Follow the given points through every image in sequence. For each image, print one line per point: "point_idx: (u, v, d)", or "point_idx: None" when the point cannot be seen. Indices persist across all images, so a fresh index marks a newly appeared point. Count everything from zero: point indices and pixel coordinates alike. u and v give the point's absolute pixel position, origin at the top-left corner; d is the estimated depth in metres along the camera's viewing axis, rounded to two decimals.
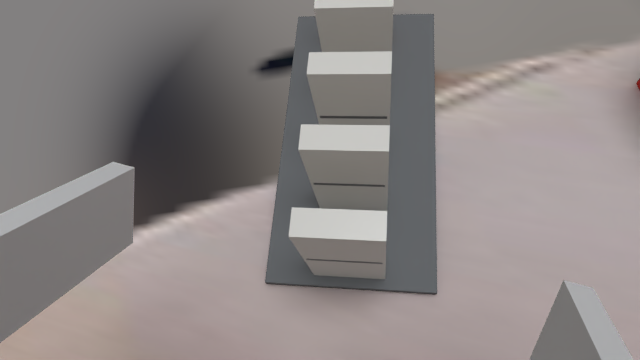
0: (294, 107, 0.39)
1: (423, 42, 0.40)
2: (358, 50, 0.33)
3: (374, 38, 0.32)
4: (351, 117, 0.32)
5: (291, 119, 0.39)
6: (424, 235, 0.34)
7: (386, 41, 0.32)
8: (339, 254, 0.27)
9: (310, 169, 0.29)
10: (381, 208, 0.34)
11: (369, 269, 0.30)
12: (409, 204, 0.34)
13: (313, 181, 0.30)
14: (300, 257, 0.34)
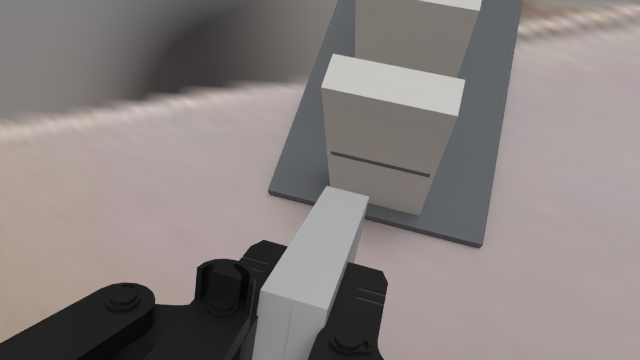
0: (345, 5, 0.32)
1: None
2: None
3: None
4: None
5: (339, 17, 0.32)
6: (478, 174, 0.26)
7: None
8: (378, 145, 0.20)
9: (360, 37, 0.22)
10: None
11: (406, 189, 0.23)
12: (465, 135, 0.27)
13: None
14: (317, 170, 0.27)
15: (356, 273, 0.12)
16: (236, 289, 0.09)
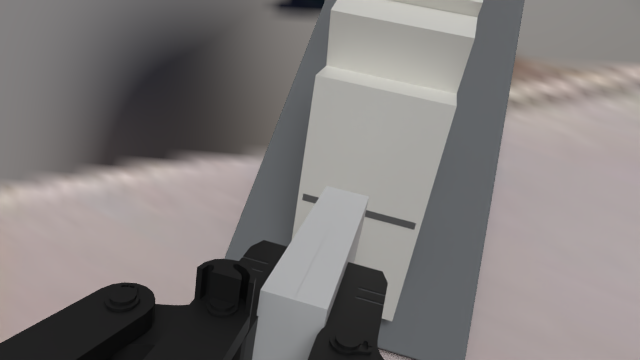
0: (312, 61, 0.28)
1: (507, 15, 0.29)
2: None
3: None
4: None
5: (304, 76, 0.27)
6: (460, 279, 0.22)
7: None
8: (362, 173, 0.18)
9: None
10: None
11: (384, 260, 0.19)
12: (445, 229, 0.23)
13: None
14: None
15: (356, 273, 0.12)
16: (236, 289, 0.09)
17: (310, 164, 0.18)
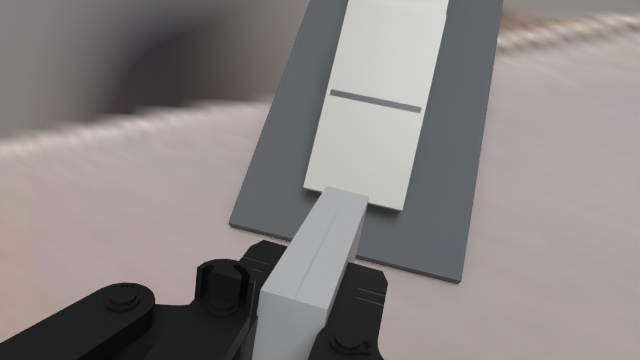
0: (314, 16, 0.30)
1: None
2: None
3: None
4: None
5: (307, 29, 0.29)
6: (456, 202, 0.24)
7: None
8: (379, 68, 0.24)
9: None
10: None
11: (395, 145, 0.23)
12: (442, 159, 0.25)
13: None
14: (283, 199, 0.25)
15: (356, 273, 0.12)
16: (236, 289, 0.09)
17: (339, 64, 0.24)
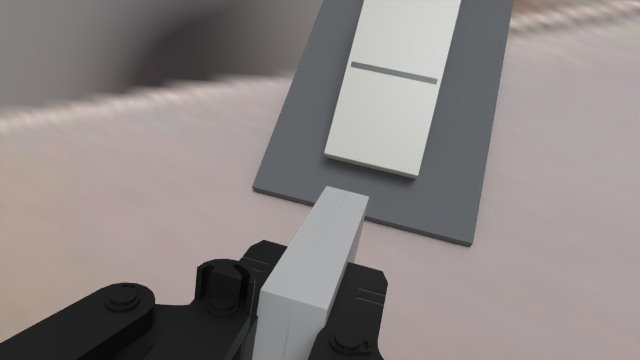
0: None
1: None
2: None
3: None
4: None
5: (327, 9, 0.31)
6: (469, 171, 0.26)
7: None
8: (398, 42, 0.25)
9: None
10: None
11: (412, 114, 0.24)
12: (456, 131, 0.27)
13: None
14: (304, 166, 0.26)
15: (356, 273, 0.12)
16: (236, 289, 0.09)
17: (360, 37, 0.25)
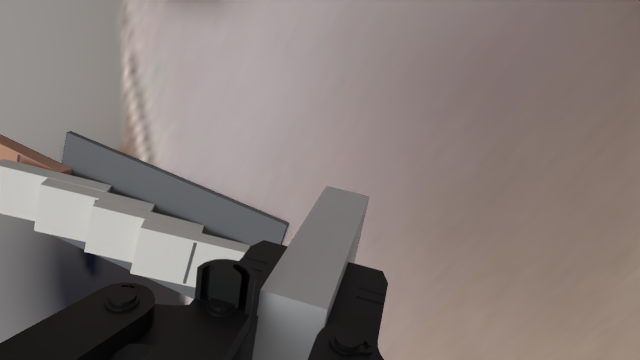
0: (129, 264, 0.49)
1: (92, 151, 0.47)
2: None
3: (27, 184, 0.45)
4: None
5: None
6: (245, 216, 0.45)
7: (32, 177, 0.44)
8: (171, 260, 0.44)
9: (114, 256, 0.45)
10: None
11: (214, 255, 0.44)
12: (221, 216, 0.45)
13: None
14: None
15: (356, 273, 0.12)
16: (236, 289, 0.09)
17: (168, 279, 0.44)
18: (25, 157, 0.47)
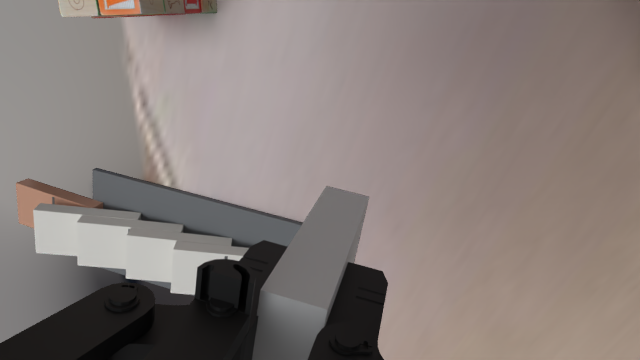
0: (169, 283, 0.52)
1: (118, 183, 0.49)
2: None
3: (65, 223, 0.48)
4: None
5: None
6: (269, 224, 0.47)
7: (68, 216, 0.48)
8: None
9: (154, 278, 0.48)
10: None
11: None
12: (247, 228, 0.48)
13: None
14: None
15: (356, 273, 0.12)
16: (236, 289, 0.09)
17: None
18: (59, 198, 0.50)
